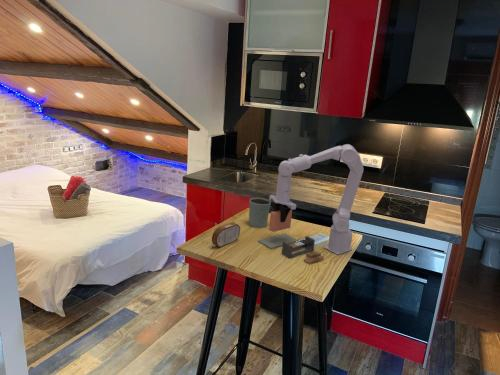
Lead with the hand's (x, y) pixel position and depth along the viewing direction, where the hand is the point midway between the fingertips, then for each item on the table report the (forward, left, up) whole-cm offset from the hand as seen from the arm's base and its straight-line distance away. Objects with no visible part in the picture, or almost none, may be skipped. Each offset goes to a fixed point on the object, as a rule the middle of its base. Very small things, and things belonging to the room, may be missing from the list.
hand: (280, 220), depth 157 cm
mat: (0, 0, -10) cm, 10 cm away
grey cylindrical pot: (-5, -20, -10) cm, 23 cm away
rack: (0, +12, -10) cm, 15 cm away
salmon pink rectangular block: (0, 0, -4) cm, 4 cm away
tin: (+21, -9, -10) cm, 25 cm away
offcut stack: (0, +21, -10) cm, 23 cm away
